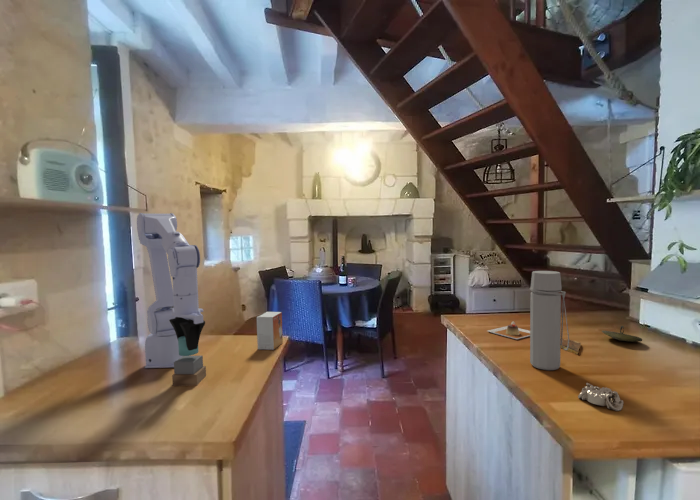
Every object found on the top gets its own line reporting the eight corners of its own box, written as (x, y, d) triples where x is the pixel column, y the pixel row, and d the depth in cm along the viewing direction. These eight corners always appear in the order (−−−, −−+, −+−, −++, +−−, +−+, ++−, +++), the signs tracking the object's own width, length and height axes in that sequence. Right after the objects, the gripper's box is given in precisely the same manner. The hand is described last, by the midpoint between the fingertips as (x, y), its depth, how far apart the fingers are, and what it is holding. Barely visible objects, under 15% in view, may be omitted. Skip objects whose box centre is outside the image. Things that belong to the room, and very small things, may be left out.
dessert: (516, 342, 124) (516, 327, 123) (486, 333, 134) (486, 320, 134) (539, 336, 130) (539, 322, 129) (508, 328, 140) (509, 315, 140)
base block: (172, 387, 94) (172, 375, 94) (183, 377, 100) (182, 366, 100) (197, 386, 94) (196, 374, 94) (206, 377, 100) (205, 366, 100)
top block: (174, 374, 94) (173, 362, 94) (184, 366, 99) (183, 355, 99) (193, 374, 94) (193, 362, 94) (203, 366, 99) (202, 355, 99)
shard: (578, 356, 109) (578, 350, 109) (548, 352, 113) (548, 346, 113) (581, 346, 117) (581, 341, 117) (553, 342, 122) (553, 337, 122)
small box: (273, 350, 120) (272, 317, 119) (257, 349, 121) (255, 316, 120) (283, 342, 127) (282, 311, 127) (267, 342, 128) (266, 311, 128)
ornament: (630, 406, 78) (630, 389, 78) (614, 416, 75) (615, 397, 74) (588, 392, 85) (588, 376, 85) (572, 401, 81) (572, 384, 81)
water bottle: (531, 370, 98) (531, 273, 97) (528, 360, 106) (528, 270, 104) (571, 374, 95) (572, 274, 94) (566, 363, 102) (566, 270, 101)
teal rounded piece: (175, 356, 94) (174, 340, 94) (183, 350, 99) (182, 335, 99) (194, 355, 94) (193, 339, 94) (201, 349, 99) (200, 334, 99)
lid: (596, 341, 121) (596, 326, 121) (608, 335, 127) (608, 320, 127) (636, 349, 112) (636, 332, 112) (647, 342, 119) (647, 326, 118)
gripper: (214, 294, 93) (216, 349, 94) (189, 289, 104) (192, 338, 104) (185, 299, 88) (188, 356, 89) (162, 292, 99) (165, 344, 99)
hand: (188, 347), depth 96 cm, fingers closed on teal rounded piece, 5 cm apart
